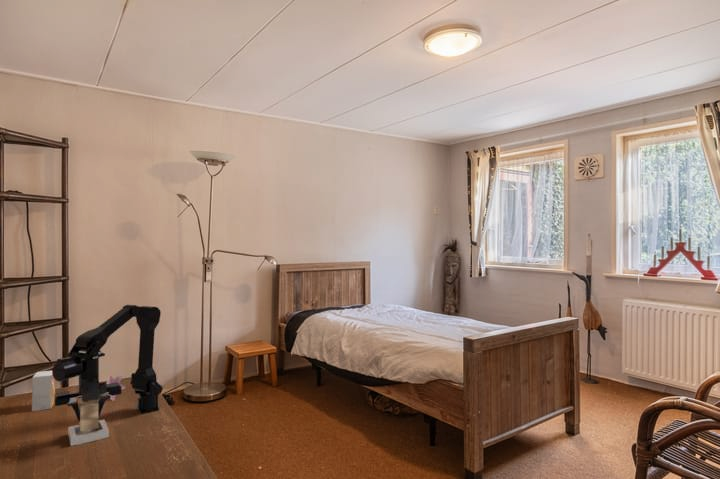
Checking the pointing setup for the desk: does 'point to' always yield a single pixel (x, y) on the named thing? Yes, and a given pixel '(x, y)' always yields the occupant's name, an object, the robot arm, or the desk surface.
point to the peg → (88, 415)
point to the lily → (117, 379)
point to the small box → (43, 390)
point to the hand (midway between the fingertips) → (88, 419)
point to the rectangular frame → (87, 436)
